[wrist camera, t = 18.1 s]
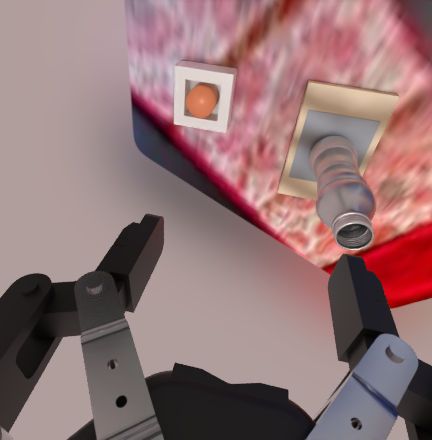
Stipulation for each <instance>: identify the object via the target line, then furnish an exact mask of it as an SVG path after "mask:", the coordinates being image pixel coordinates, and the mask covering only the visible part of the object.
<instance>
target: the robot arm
mask: <svg viewBox="0 0 432 440" xmlns="http://www.w3.org/2000/svg"><path fill="white" fill-rule="evenodd" d="M163 244H164V219H163V217H162V216H157V215H152V214H146V215H145V216H144V218H143V219H142V221H141V223H140V224H139V223H134V222H133V223H131V224H130V225H128V226H127V227H125V228H124V229H123V230H122V232H121V233H120V235H119V236H118V238H117V239H116V241H115V242H114V245H112V247H111V248H110V250H109V251H108V253H107V254H106V255H105V257H104V259H103V260H102V261H101V263H100V264H99V266H98V267H97V269H96V270H95V271H93V272H89V273H87V274H85V275H84V276H82V277H81V278H79V279H78V281H73V282H59V283H52V282H51V280H50V278H49V277H48V276H46V275H44V274H39V273H36V274H29V275H26V276H23V277H21V278H19V279H18V280H16V281H15V282H14V283H13V284H12V285H11V286H10V287H9V288H8V289H7V291H6V292H5V293H4V294H3V296H2V297H1V298H0V440H13V438H12V437H11V436H10V434H9V431H10V429H11V427H12V426H13V424H14V422H15V420H16V419H17V417H18V415H19V413H20V412H21V410H22V408H23V406H24V404H25V403H26V401H27V399H28V397H29V396H30V394H31V392H32V391H33V389H34V387H35V385H36V384H37V382H38V380H39V378H40V377H41V375H42V373H43V371H44V370H45V368H46V366H47V364H48V363H49V361H50V359H51V357H52V356H53V354H54V352H55V350H56V349H57V347H58V345H59V343H60V341H61V339H62V338H63V337H67V336H78V335H82V336H81V344H82V351H83V357H84V363H85V369H86V375H87V381H88V387H89V394H90V400H91V406H92V412H93V419H92V420H91V421H89V422H88V423H87V424H86V425H84V426H83V427H82V428H81V429H79V430H78V431H77V432H76V433H74V434H73V435H72V436H71V437H69V438H68V439H67V440H386V439H387V437H388V435H389V433H390V431H391V429H392V427H393V426H394V423H395V421H396V420H397V417H398V415H399V416H401V417H402V418H404V419H405V424H406V428H407V432H408V437H409V440H432V366H431V365H429V364H427V363H425V362H423V361H421V360H419V359H418V358H417V356H416V354H415V352H414V350H413V349H412V348H411V347H410V345H408V344H407V343H406V342H405V341H404V340H402V339H401V338H400V337H399V335H398V332H397V329H396V326H395V323H394V320H393V317H392V314H391V311H390V308H389V305H388V304H387V299H386V296H385V295H384V290H383V287H382V284H381V282H380V280H379V279H378V278H377V276H376V275H375V274H374V273H373V272H372V271H367V269H366V266H365V262H364V259H363V258H362V257H358V256H353V255H348V254H343V255H342V256H341V257H340V259H339V261H338V263H337V265H336V267H335V268H334V270H333V272H332V274H331V276H330V279H329V282H328V293H329V300H330V307H331V314H332V321H333V327H334V335H335V341H336V348H337V355H338V360H339V361H343V362H348V363H349V368H350V370H349V371H348V372H347V374H346V375H345V376H344V378H343V379H342V381H341V382H340V383H339V385H338V386H337V387H336V389H335V390H334V391H333V393H332V394H331V396H330V397H329V398H328V400H327V401H326V402H325V404H324V405H323V406H322V408H321V409H320V410H319V412H318V413H317V414H316V415H315V417H314V418H313V419H312V418H311V417H310V416H309V415H308V414H307V413H306V412H305V411H304V410H303V409H302V408H300V406H298V405H297V404H295V403H294V402H293V401H291V400H289V399H288V390H287V389H283V388H279V387H275V386H270V385H266V384H262V383H250V384H249V383H246V384H229V383H227V382H225V381H223V380H221V379H219V378H217V377H216V376H214V375H212V374H210V373H208V372H206V371H205V370H203V369H199V368H195V367H191V366H187V365H183V364H178V363H175V364H174V367H173V371H164V372H160V373H156V374H153V375H151V376H149V377H147V378H144V375H143V371H142V368H141V365H140V362H139V358H138V355H137V352H136V348H135V345H134V342H133V338H132V335H131V331H130V328H129V325H128V322H127V321H126V319H125V316H124V313H125V311H129V312H134V310H135V308H136V306H137V304H138V302H139V300H140V298H141V296H142V293H143V291H144V289H145V287H146V285H147V283H148V281H149V279H150V276H151V274H152V272H153V270H154V268H155V265H156V264H157V262H158V259H159V257H160V255H161V253H162V250H163Z"/></svg>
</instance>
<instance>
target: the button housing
mask: <svg viewBox="0 0 432 440" xmlns="http://www.w3.org/2000/svg"><path fill="white" fill-rule="evenodd" d="M236 76H237V68H231V67H224V66H218V65H211V64H205V63H199V62H192V61H186V60H182V61H181V62H179V63H178V64H176V65H175V84H174V124H176V125H182V126H188V127H193V128H199V129H205V130H211V131H216V132H222V133H226V132H227V130H228V127H229V125H230V120H231V113H232V105H233V98H234V91H235V84H236ZM199 82H205V83H211V84H215V85H216V87H217V88H218V91H219V101H218V103H217V105H216V106H215V108H214V110H213V111H212V113H211V114H210V115H209V116H207V117H204V118H199V117H196V116H194V115H192V114H191V113H190V111H189V110H188V108H187V105H186V98H187V95H188V93H189V92H190V91H191V90H192V89H193V88H194V87H195V86H196V85H197V84H198V83H199Z"/></svg>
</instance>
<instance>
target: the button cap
mask: <svg viewBox="0 0 432 440" xmlns="http://www.w3.org/2000/svg"><path fill="white" fill-rule="evenodd" d="M218 101H219V91H218V88H217V87H216V85H215V84H211V83H205V82H199V83H198V84H197V85H196V86H195V87H194V88H193V89H192V90H191V91H190V92H189V93H188V95H187V98H186V105H187V108H188V110H189V111H190V113H191V114H192V115H194V116H196V117H199V118H204V117H207V116H209V115H210V114H211V113H212V111H213V110H214V108H215V106H216V105H217V103H218Z"/></svg>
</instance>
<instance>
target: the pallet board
mask: <svg viewBox="0 0 432 440" xmlns="http://www.w3.org/2000/svg"><path fill="white" fill-rule="evenodd" d="M399 98H400V96H399V95H398V94H396V93H390V92H383V91H377V90H371V89H364V88H358V87H351V86H345V85H339V84H332V83H326V82H320V81H313V80H308V82H307V86H306V89H305V93H304V97H303V100H302V104H301V107H300V111H299V114H298V118H297V122H296V125H295V129H294V132H293V136H292V139H291V143H290V147H289V150H288V154H287V157H286V161H285V164H284V168H283V172H282V175H281V179H280V182H279V186H278V193H280V194H286V195H291V196H296V197H302V198H307V199H312V200H316V196H317V180H316V177H315V175H314V174H313V172H312V170H311V167H310V163H309V158H310V154H311V150H312V148H313V146H314V145H315V144H316V143H317V142H318V141H319V140H321V139H323V138H325V137H328V136H341V137H343V138H345V139H347V140H348V141H349V142H351V144H352V145H353V146H354V147H355V149H356V152H357V158H358V169H359V172H360V174H361V176H362V175H363V173H364V171H365V169H366V167H367V165H368V163H369V160H370V158H371V156H372V154H373V152H374V150H375V148H376V146H377V144H378V142H379V140H380V137H381V135H382V133H383V131H384V129H385V127H386V125H387V123H388V121H389V119H390V117H391V114H392V112H393V110H394V108H395V106H396V104H397V102H398V100H399Z"/></svg>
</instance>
